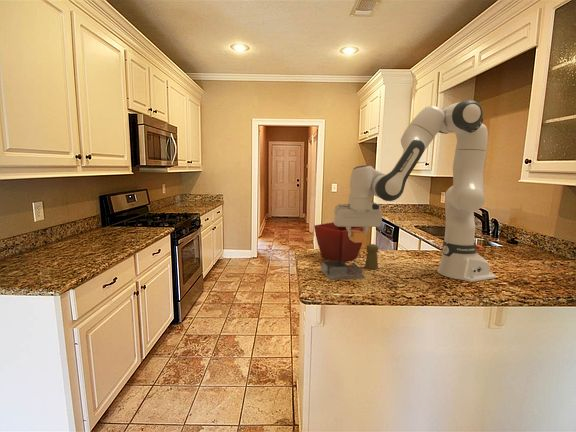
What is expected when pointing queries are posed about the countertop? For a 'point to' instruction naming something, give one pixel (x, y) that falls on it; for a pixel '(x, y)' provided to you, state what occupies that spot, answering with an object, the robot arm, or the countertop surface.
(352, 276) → the grey tray with frame
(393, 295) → the countertop surface
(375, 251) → the cork
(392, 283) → the countertop surface
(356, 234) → the bracket block
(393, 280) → the countertop surface
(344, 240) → the plant pot
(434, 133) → the robot arm
